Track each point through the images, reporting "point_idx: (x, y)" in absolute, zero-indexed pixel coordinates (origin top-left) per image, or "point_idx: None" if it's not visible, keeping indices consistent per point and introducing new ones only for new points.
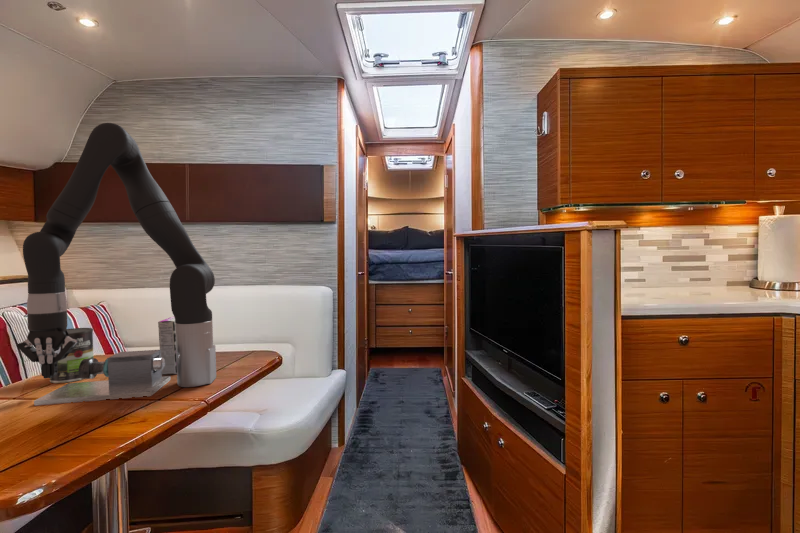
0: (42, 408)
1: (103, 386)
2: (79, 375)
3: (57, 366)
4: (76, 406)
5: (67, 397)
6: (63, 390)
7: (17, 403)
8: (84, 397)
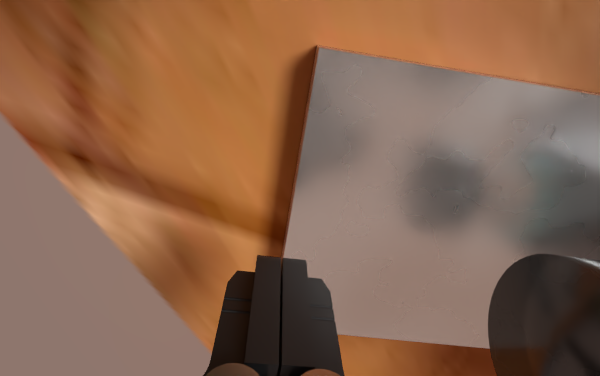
0: None
1: (552, 228)
2: (495, 366)
3: (336, 336)
4: (443, 363)
5: (406, 334)
6: (348, 221)
7: (169, 254)
8: (473, 345)
